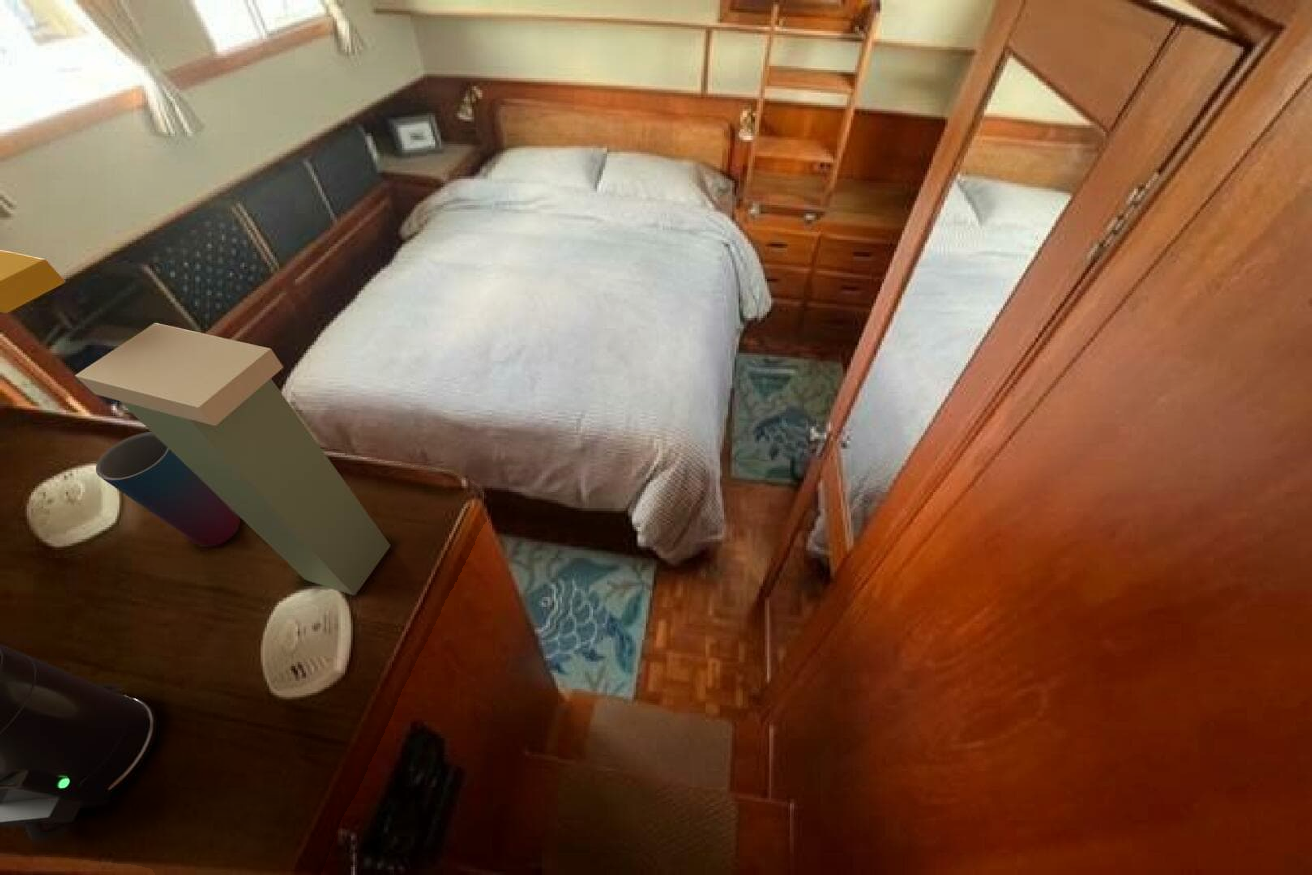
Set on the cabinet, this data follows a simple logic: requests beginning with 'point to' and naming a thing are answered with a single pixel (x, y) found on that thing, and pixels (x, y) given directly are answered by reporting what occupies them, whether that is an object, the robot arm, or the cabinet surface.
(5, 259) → the yellow bar
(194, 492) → the cup
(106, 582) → the cabinet surface
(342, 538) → the stand
